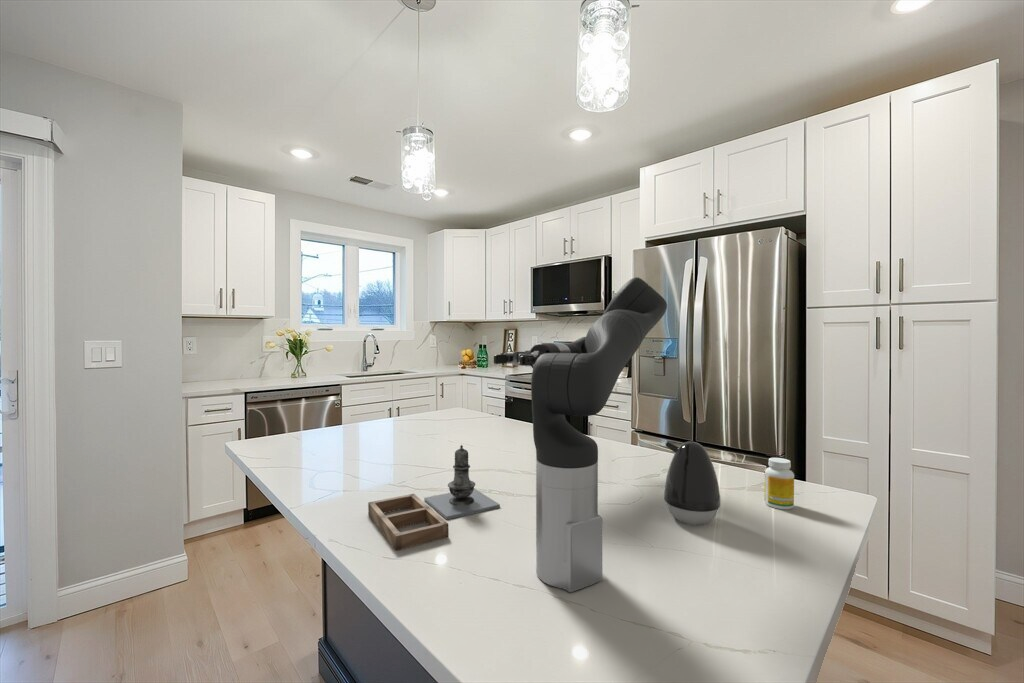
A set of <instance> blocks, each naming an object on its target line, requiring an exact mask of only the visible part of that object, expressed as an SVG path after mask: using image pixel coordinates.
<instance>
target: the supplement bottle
mask: <svg viewBox="0 0 1024 683" xmlns="http://www.w3.org/2000/svg"><path fill="white" fill-rule="evenodd" d="M791 465H792V464H791V460H790V459H786V458H783V457H770V458H769V457H768V466H769V467H767V468H765V469H764V490H763V492H764V493H763V494H764V495H763V496H764V499H763V501H764V503H765V505H766V506H768V507H771V508H774V509H778V510H783V511H785V510H791V509H793V508H794V506H795V503H794V502H795V473H794V472H793V471H792V470H790V469H791V467H792V466H791Z"/></svg>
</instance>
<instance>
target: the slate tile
mask: <svg viewBox="0 0 1024 683" xmlns="http://www.w3.org/2000/svg"><path fill="white" fill-rule="evenodd" d="M470 496H471V497H472V498H473V499H474V502H473V503H471V504H469V505H462V506H458V505H453V504H450V503H449V500H450V499H451V498H452V497H454V496H453V495H452V494H451V493H450V492H447V493H442V494H435V495H432V496H427V497H424V498H423V501H424V500H425V501H426V502H425V501H424V502H425V503H426V504H427V505H428V506H429V507H430V508H432V507H433V508H432V509H433V510H434V511H435V512H436V513H437V514H438V515H439V516H440V515H441V516H442V518H443V519H444V520H445V521H446V520H450V519H451V518H452V519H456V518H460V517H464V516H469V515H473V514H477V513H480V512H486V511H490V510H494V509H498V508H501V504H500V503H498V502H497V501H495V500H494V499H492V498H490V497H489V496H487V495H486V494H484V493H482V492H481V491H480V490H477V489H476V488H475V487H474V490H473V492H472V494H471V495H470ZM452 519H451V520H452Z"/></svg>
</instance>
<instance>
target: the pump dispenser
mask: <svg viewBox="0 0 1024 683" xmlns="http://www.w3.org/2000/svg"><path fill="white" fill-rule="evenodd" d="M665 447H667V448H668V449H670V450H671V451H672V452H673V453H674V454H673V457H672V458H671V461H670V464H669V466H668V469H667V473H666V479H665V483H664V491H663V498H664V501H665V503H666V507H667V509H668V511H669V513H670V514H671V516H673V518H674V519H676V520H677V521H679V522H681V523H683V524H687V525H691V526H701V525H706V524H708V523H710V522H711V521H713V520H714V519H715V517H716V516H717V514H718V511H719V509H720V508H721V493H720V486H719V481H718V477H717V474H716V470H715V466H714V464H713V461H712V459H711V457H710V455H709V453H708V452H707V450H706V448H705V447H704V446H703V445H702V444H700V443H698V442H695V441H685V442H684V443H682V444H680V445H679V446H678V445H676V444H674V443H673V442H670V441H667V442H666V443H665Z"/></svg>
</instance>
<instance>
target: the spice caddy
mask: <svg viewBox="0 0 1024 683" xmlns="http://www.w3.org/2000/svg"><path fill="white" fill-rule="evenodd" d="M367 503H368V504H367V506H368V508H367V510H368V514H367V515H368V516H369V515H370V516H369V517H370V518H371V520H372V519H373V520H372V521H373V523H374V524H375V523H376V524H375V525H376V526H377V528H378V527H379V528H378V529H379V530H380V531H381V533H382V534H383V536H384V537H385V538H386V540H387V541H388V542H389V544H390V545H391V546H392V548H393V549H394V550H395V551H399V550H404V549H407V548H411V547H415V546H420V545H423V544H427V543H431V542H435V541H439V540H443V539H446V538H449V523H448V522H447V521H446V519H445V518H443V517H441V516H440V514H439V513H438V512H437V511H435V510H434V509H433V508H432V507H431V506H430V505H429V504H427V503H426V502H425V501H424V500H422V499H421V498H420V497H419V496H418V495H416V494H415V493H411V494H405V495H400V496H395V497H389V498H385V499H379V500H378V499H377V500H375V501H369V502H367ZM405 508H406V509H410V508H411V509H410V510H405ZM398 509H401V510H405V511H402V512H401V511H400V512H397V513H392V514H387V515H385V513H384V512H386V513H390V512H389V511H391V512H394V511H393V510H396V511H399V510H398ZM425 522H426V523H427V526H423V527H419V528H414V529H409V530H406V531H405V530H404V531H401V532H400V531H399V530H398V529H399V528H403V527H408V526H413V525H416V524H422V523H425Z"/></svg>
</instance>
